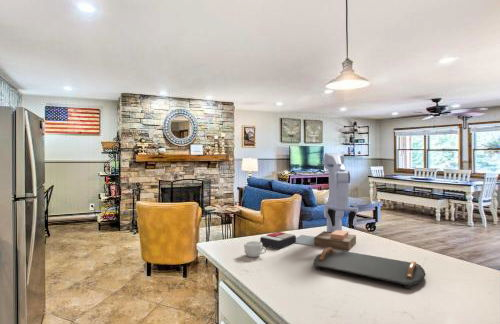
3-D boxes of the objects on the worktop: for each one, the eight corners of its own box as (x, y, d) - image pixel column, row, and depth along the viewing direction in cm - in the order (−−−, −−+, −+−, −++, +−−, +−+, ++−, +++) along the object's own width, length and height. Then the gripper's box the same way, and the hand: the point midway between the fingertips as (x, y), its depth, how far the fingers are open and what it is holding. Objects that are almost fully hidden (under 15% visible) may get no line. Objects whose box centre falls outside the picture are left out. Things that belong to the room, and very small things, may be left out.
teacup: (240, 256, 137) (240, 244, 137) (249, 252, 144) (249, 240, 143) (261, 260, 132) (261, 247, 132) (270, 255, 138) (270, 243, 138)
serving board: (428, 273, 119) (428, 256, 119) (420, 295, 100) (420, 276, 100) (328, 254, 141) (328, 240, 141) (305, 270, 122) (305, 254, 122)
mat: (301, 235, 173) (301, 234, 173) (323, 238, 166) (323, 237, 166) (289, 242, 159) (289, 241, 159) (312, 246, 153) (312, 245, 153)
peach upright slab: (336, 234, 159) (336, 230, 159) (348, 235, 156) (348, 231, 156) (330, 238, 152) (330, 233, 152) (343, 239, 149) (343, 235, 149)
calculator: (296, 234, 159) (279, 239, 147) (296, 243, 159) (278, 249, 147) (277, 230, 166) (259, 235, 154) (277, 239, 166) (259, 244, 154)
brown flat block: (323, 239, 165) (323, 231, 165) (355, 243, 157) (355, 235, 157) (314, 245, 153) (314, 237, 153) (348, 250, 145) (348, 242, 145)
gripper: (323, 197, 149) (323, 226, 149) (355, 199, 141) (355, 230, 142) (328, 195, 155) (328, 223, 155) (359, 197, 147) (359, 227, 148)
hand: (341, 226), depth 149 cm, fingers open, 7 cm apart
